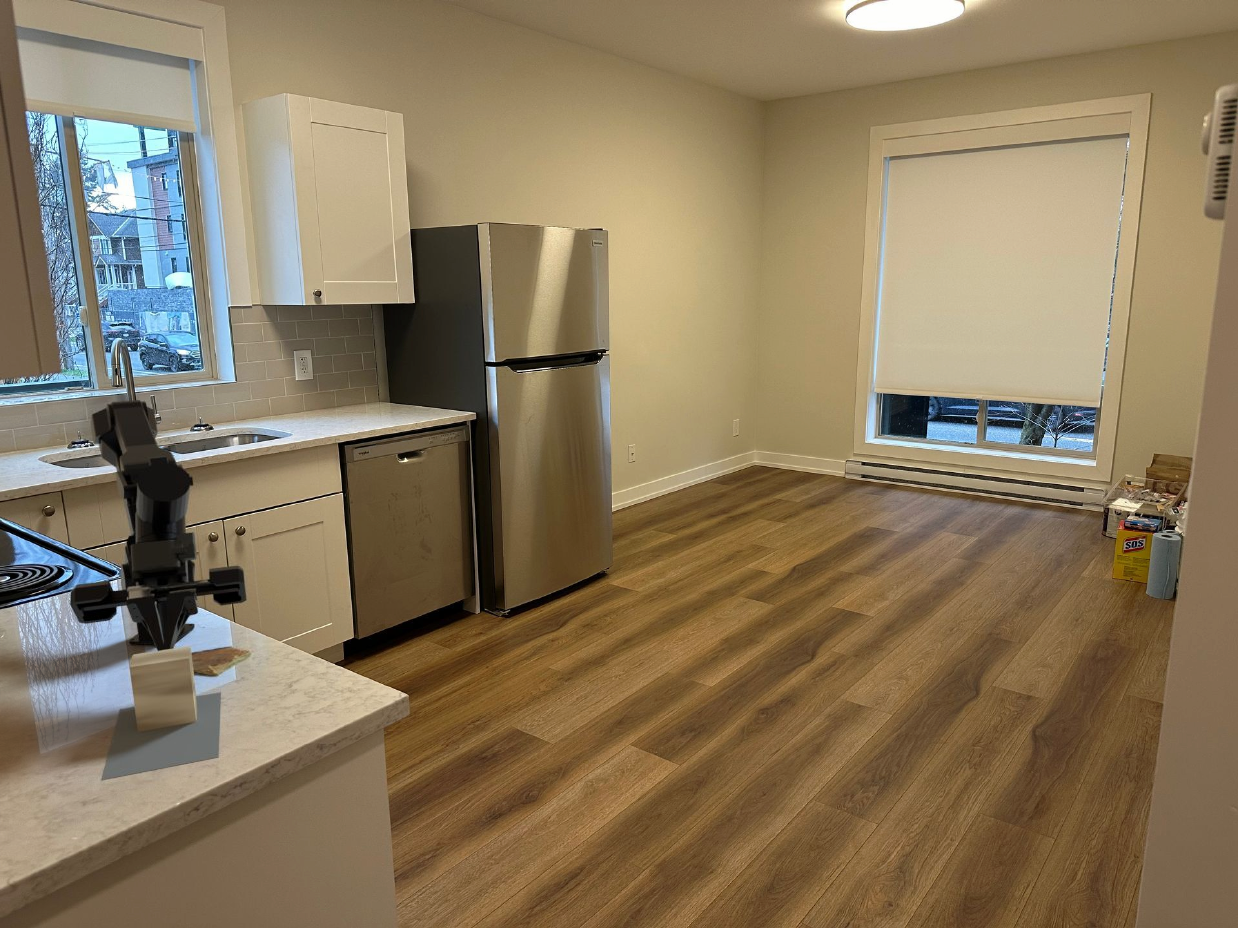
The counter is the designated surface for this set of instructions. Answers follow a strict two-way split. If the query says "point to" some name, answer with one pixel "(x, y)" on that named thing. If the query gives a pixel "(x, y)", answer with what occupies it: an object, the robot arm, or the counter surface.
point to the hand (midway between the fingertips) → (164, 658)
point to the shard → (218, 660)
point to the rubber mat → (164, 741)
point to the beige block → (163, 688)
